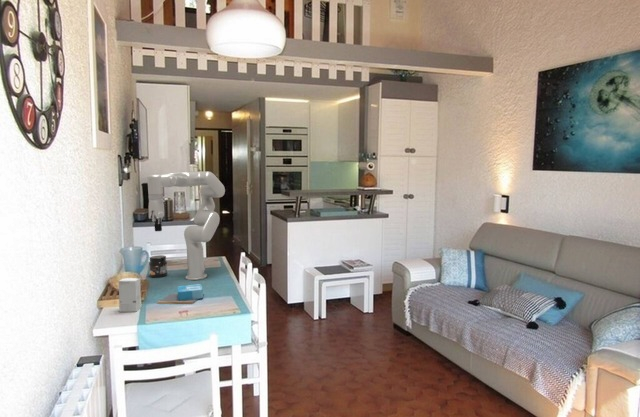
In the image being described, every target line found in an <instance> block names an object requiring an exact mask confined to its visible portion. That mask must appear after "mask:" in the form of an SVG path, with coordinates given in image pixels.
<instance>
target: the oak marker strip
mask: <svg viewBox="0 0 640 417" xmlns="http://www.w3.org/2000/svg"><path fill="white" fill-rule="evenodd" d="M156 304H157V305H158V304H159V305H161V304H162V305H193V304H194V303H193V301H160V300H158V301H157V302H156Z"/></svg>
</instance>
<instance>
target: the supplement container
mask: <svg viewBox="0 0 640 417" xmlns="http://www.w3.org/2000/svg"><path fill="white" fill-rule="evenodd" d="M166 259H167V256H166V255H162V254H160V255H153V256H150V257H149V262H148V264H149V265H148V267H149V276H150V278H155V277H158V278H163V277H166V276H167V275H168V274H169V273H168V261H167V260H166ZM155 279H156V278H155Z"/></svg>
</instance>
